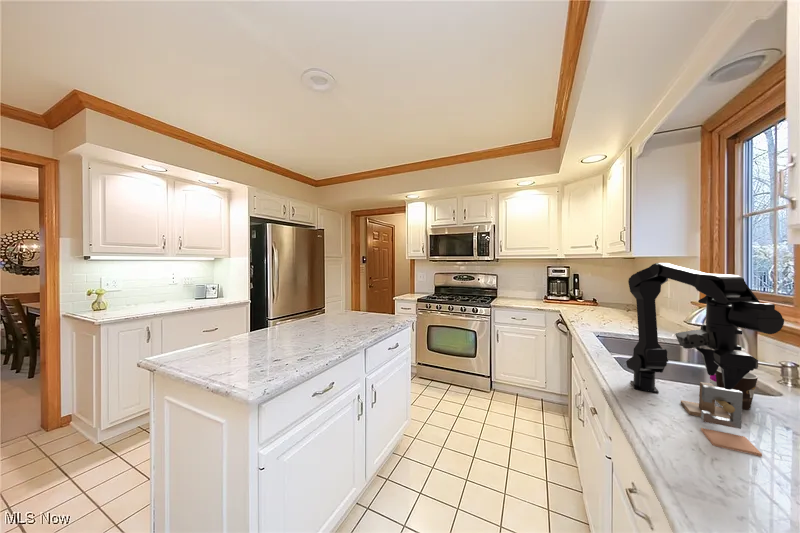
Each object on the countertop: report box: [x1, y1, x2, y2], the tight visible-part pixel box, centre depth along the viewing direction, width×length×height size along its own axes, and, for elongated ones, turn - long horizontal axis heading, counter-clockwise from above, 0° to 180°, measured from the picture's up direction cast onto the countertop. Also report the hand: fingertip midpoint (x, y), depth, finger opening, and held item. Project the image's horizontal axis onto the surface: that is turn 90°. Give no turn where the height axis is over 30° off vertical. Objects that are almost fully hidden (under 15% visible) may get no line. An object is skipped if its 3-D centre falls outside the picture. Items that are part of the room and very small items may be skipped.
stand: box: [680, 381, 735, 419], centre depth 81 cm, size 16×9×9 cm, turn 151°
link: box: [700, 385, 743, 430], centre depth 76 cm, size 2×7×10 cm, turn 62°
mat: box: [700, 427, 763, 457], centre depth 72 cm, size 7×8×1 cm
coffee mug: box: [715, 367, 759, 411], centre depth 89 cm, size 12×9×10 cm
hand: (718, 381), depth 76 cm, fingers open, 9 cm apart
